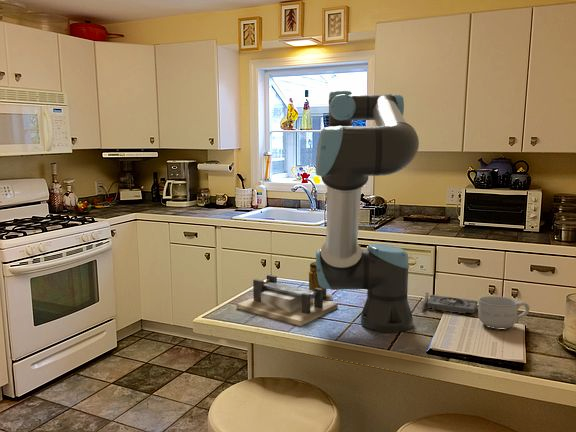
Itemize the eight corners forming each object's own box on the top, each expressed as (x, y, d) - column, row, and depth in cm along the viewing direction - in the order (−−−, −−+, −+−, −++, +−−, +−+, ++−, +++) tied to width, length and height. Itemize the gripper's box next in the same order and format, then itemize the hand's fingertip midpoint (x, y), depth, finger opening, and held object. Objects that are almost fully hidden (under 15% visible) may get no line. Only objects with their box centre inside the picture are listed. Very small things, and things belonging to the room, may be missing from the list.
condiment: (307, 294, 180) (307, 260, 179) (331, 294, 180) (332, 261, 178) (307, 300, 173) (307, 266, 171) (332, 300, 173) (333, 266, 171)
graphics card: (418, 302, 161) (425, 291, 172) (418, 313, 162) (424, 301, 172) (474, 310, 154) (478, 298, 165) (474, 322, 155) (477, 309, 165)
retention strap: (318, 296, 160) (318, 290, 160) (309, 300, 156) (309, 294, 156) (268, 283, 173) (268, 278, 172) (258, 287, 169) (258, 282, 168)
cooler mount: (337, 307, 165) (337, 282, 164) (301, 326, 150) (300, 298, 148) (275, 293, 181) (275, 270, 180) (236, 308, 166) (236, 283, 164)
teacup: (476, 330, 146) (478, 303, 145) (476, 317, 156) (478, 292, 155) (530, 336, 141) (532, 308, 140) (526, 323, 151) (528, 297, 150)
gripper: (363, 139, 166) (362, 211, 170) (329, 139, 174) (329, 208, 177) (351, 139, 160) (350, 213, 164) (317, 139, 168) (317, 210, 172)
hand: (339, 210), depth 171 cm, fingers closed
